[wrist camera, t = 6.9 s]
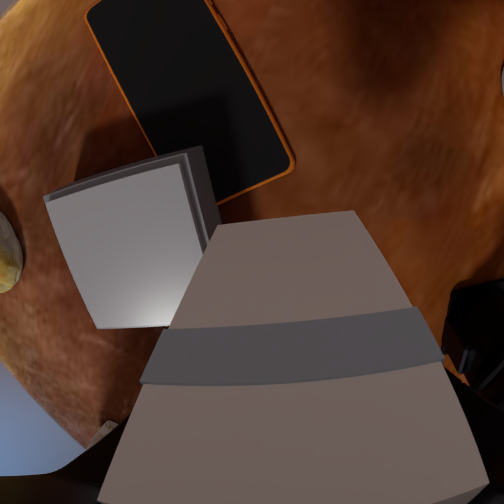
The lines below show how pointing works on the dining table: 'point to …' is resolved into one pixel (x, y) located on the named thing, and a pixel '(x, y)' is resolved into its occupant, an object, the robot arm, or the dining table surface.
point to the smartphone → (191, 89)
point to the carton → (295, 382)
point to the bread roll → (9, 255)
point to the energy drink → (503, 80)
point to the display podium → (136, 236)
